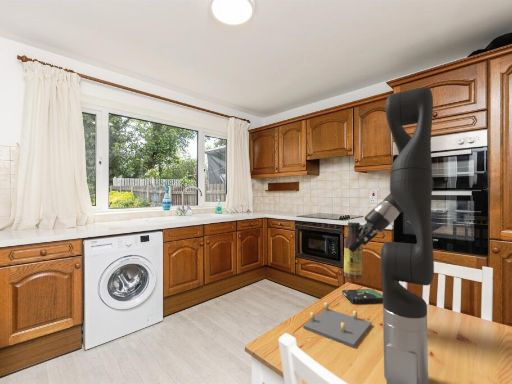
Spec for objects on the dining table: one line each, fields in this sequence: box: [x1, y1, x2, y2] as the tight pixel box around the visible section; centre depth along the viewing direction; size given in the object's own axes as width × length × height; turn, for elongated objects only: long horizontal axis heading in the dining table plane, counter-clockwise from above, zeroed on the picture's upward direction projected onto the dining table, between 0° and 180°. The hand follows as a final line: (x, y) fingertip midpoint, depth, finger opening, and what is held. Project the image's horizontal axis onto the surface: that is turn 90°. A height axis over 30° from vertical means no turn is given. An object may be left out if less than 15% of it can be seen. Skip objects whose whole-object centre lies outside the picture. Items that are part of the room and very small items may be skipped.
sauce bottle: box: [343, 221, 364, 280], centre depth 91 cm, size 7×6×20 cm
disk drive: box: [341, 288, 383, 305], centre depth 109 cm, size 10×3×15 cm
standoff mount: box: [302, 301, 373, 349], centre depth 86 cm, size 17×17×4 cm
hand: (348, 248), depth 91 cm, fingers closed on sauce bottle, 6 cm apart
